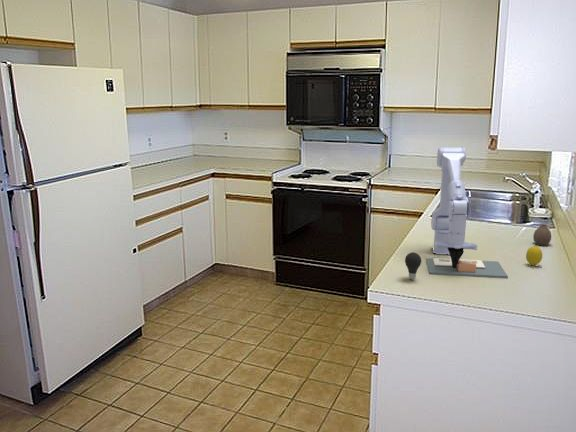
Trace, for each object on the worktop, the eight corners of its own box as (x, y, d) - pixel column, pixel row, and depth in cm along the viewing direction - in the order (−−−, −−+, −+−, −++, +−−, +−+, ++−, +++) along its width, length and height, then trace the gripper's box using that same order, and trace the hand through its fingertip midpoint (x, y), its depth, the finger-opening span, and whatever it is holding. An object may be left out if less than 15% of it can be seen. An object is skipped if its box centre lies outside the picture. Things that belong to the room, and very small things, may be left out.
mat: (425, 259, 200) (426, 257, 199) (498, 263, 195) (498, 261, 194) (429, 274, 184) (429, 272, 184) (507, 278, 179) (507, 276, 179)
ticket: (432, 259, 197) (433, 257, 197) (481, 261, 194) (481, 260, 194) (434, 266, 190) (435, 264, 190) (485, 269, 187) (485, 267, 186)
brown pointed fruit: (534, 246, 215) (536, 226, 213) (530, 241, 222) (533, 222, 220) (552, 247, 214) (554, 227, 211) (548, 242, 220) (550, 223, 218)
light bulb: (408, 283, 176) (410, 256, 173) (401, 277, 181) (402, 251, 179) (423, 281, 177) (424, 254, 175) (415, 275, 183) (416, 249, 180)
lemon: (527, 262, 196) (529, 242, 194) (542, 265, 192) (545, 245, 190) (523, 266, 192) (525, 246, 190) (538, 269, 188) (541, 248, 186)
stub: (456, 267, 188) (457, 259, 187) (473, 268, 187) (474, 260, 186) (458, 271, 184) (458, 263, 183) (475, 272, 183) (476, 264, 182)
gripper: (437, 234, 180) (434, 269, 184) (479, 235, 178) (476, 272, 181) (435, 228, 187) (433, 263, 190) (476, 230, 184) (473, 265, 188)
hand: (454, 267), depth 186 cm, fingers closed
